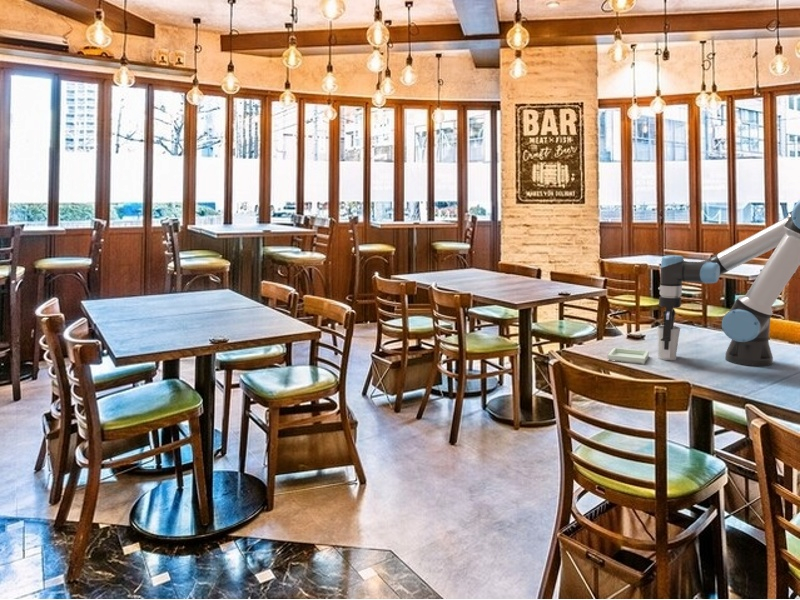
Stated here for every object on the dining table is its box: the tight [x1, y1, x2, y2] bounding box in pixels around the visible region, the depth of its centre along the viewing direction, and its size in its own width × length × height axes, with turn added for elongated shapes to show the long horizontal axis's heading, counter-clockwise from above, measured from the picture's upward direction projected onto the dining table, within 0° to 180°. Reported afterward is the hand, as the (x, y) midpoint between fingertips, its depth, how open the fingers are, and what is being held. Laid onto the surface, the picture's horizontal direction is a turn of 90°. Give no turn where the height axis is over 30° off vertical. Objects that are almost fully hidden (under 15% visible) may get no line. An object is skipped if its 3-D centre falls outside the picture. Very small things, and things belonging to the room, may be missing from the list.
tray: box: [607, 347, 650, 365], centre depth 222 cm, size 13×13×2 cm
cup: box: [656, 324, 681, 361], centre depth 220 cm, size 8×8×12 cm
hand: (667, 355), depth 221 cm, fingers closed on cup, 7 cm apart
